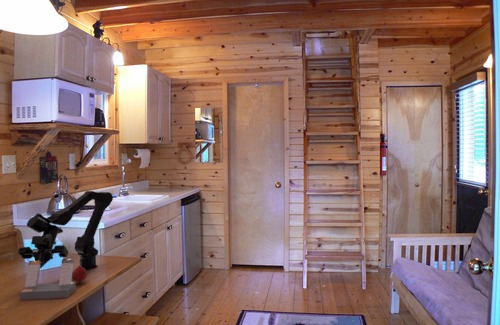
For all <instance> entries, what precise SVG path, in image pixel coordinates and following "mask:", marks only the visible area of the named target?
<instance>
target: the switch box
mask: <svg viewBox="0 0 500 325" xmlns="http://www.w3.org/2000/svg"><path fill="white" fill-rule="evenodd" d="M76 283H77V282H76V281H71V284H67V285H59V282H58V283H41V284H40V283H38V286H30V287H25V288H24V289H22V290H20V291H19V293H18V296H19V297H18V298H19V301H27V300H28V301H29V300H30V301H31V300H32V301H34V300H51V299H62V298H63V299H65V298H68V297H70V296H71V295H72V294H73V293H74V292H75V291H76V289H77V287H76V286H77V285H76ZM69 295H70V296H69Z"/></svg>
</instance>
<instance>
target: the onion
mask: <svg viewBox="0 0 500 325" xmlns="http://www.w3.org/2000/svg"><path fill="white" fill-rule="evenodd" d="M87 271H88V270H85V269H84V268H83V267H81V266H80V264H77V267H76V268H74V269H73V270H72V280H73V282H76V283H77V284H82V282H84V281H85V280H86V279H87V275H88V273H87Z"/></svg>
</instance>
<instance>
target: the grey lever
mask: <svg viewBox="0 0 500 325" xmlns="http://www.w3.org/2000/svg"><path fill="white" fill-rule="evenodd" d="M74 260H75V259H74V258H63V259H62V260H61V266H60V274H59V282H58V283H59V285H67V284H71V282H72V280H73V278H72V273H73V271H74V269H73V268H74V262H75V261H74Z"/></svg>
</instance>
